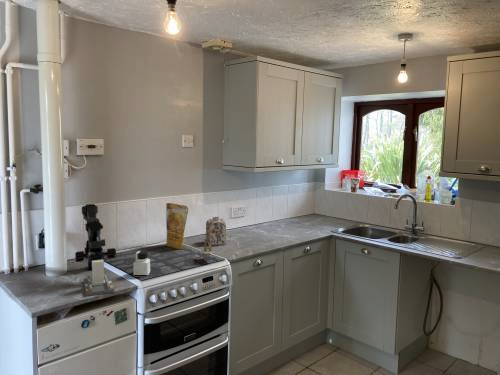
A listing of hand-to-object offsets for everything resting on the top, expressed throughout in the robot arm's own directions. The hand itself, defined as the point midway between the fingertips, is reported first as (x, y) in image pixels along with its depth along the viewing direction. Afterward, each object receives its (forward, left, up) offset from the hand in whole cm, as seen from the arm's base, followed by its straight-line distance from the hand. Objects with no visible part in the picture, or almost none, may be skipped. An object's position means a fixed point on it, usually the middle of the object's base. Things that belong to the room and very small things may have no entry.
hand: (97, 270), depth 197 cm
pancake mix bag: (-25, +69, -7) cm, 74 cm away
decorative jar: (-12, +94, -7) cm, 95 cm away
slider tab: (+4, -2, -5) cm, 7 cm away
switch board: (+4, -2, -7) cm, 8 cm away
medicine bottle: (+4, +23, -7) cm, 24 cm away
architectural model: (+11, +63, -7) cm, 64 cm away
